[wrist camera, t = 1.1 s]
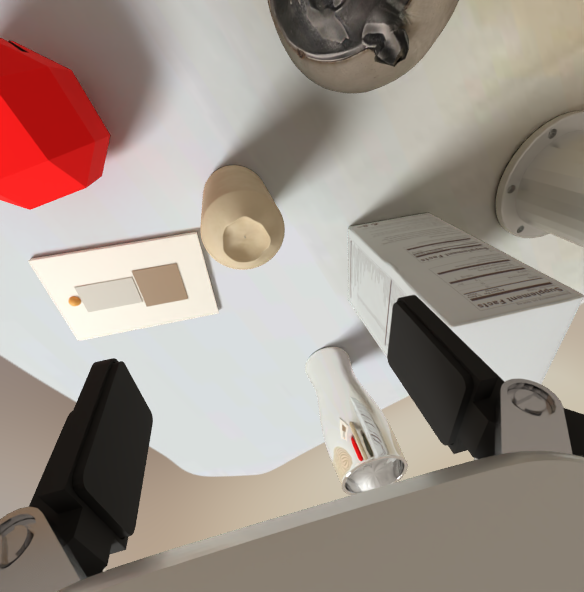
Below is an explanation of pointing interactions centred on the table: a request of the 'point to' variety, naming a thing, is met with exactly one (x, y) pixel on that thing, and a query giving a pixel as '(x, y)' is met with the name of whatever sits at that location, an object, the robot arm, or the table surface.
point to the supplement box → (460, 291)
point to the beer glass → (353, 425)
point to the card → (129, 285)
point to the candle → (240, 219)
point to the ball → (45, 130)
